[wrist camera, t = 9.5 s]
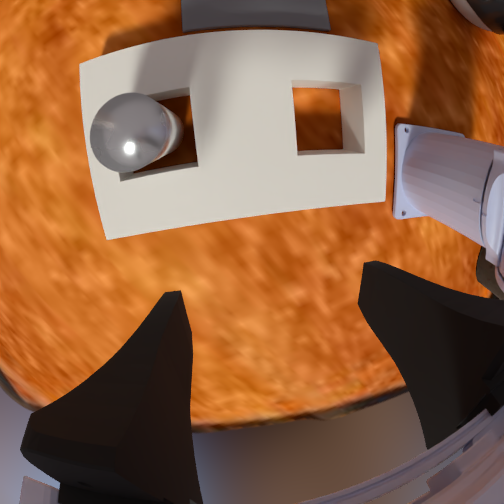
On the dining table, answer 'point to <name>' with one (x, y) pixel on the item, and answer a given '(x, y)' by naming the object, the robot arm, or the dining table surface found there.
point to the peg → (134, 132)
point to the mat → (254, 14)
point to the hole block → (241, 127)
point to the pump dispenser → (483, 13)
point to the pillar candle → (488, 275)
